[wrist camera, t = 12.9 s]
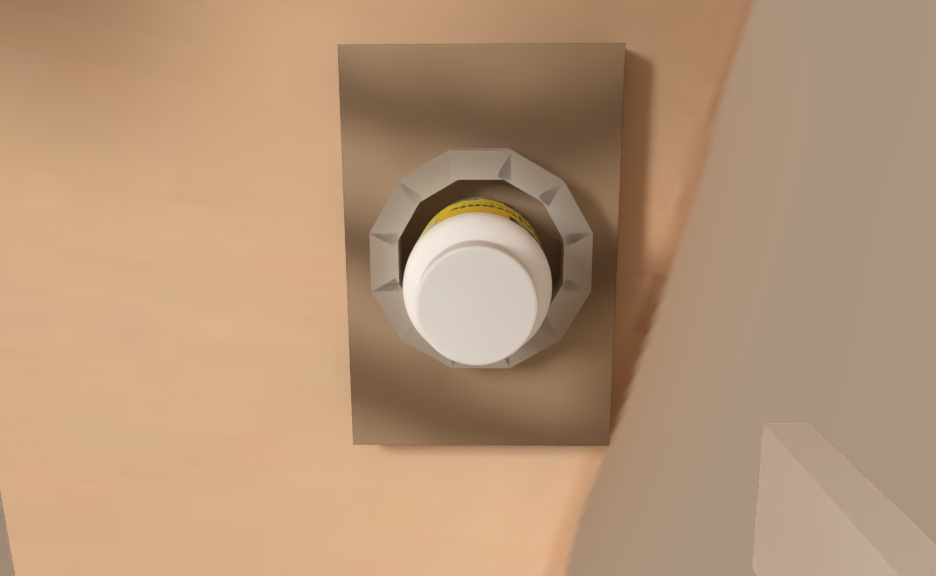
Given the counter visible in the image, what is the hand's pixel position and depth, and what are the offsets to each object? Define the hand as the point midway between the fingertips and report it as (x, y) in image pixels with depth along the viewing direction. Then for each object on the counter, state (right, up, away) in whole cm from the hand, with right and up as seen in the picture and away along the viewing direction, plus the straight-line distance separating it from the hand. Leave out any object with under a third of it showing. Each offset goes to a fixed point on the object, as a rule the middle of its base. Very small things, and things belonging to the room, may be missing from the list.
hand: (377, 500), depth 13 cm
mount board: (+2, +5, +23) cm, 23 cm away
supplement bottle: (+2, +5, +21) cm, 22 cm away
